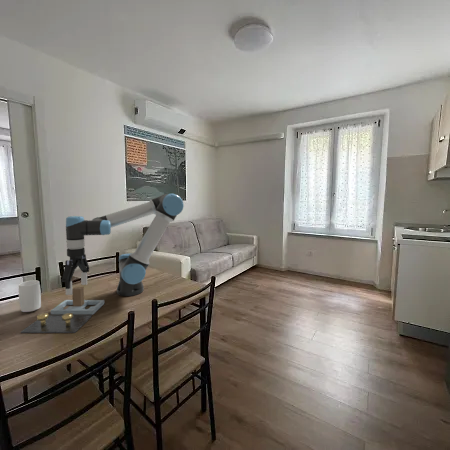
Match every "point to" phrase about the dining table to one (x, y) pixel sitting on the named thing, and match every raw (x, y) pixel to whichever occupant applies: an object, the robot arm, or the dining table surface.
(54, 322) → the plate
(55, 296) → the dining table surface
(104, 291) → the dining table surface
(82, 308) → the panel
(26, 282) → the cup
